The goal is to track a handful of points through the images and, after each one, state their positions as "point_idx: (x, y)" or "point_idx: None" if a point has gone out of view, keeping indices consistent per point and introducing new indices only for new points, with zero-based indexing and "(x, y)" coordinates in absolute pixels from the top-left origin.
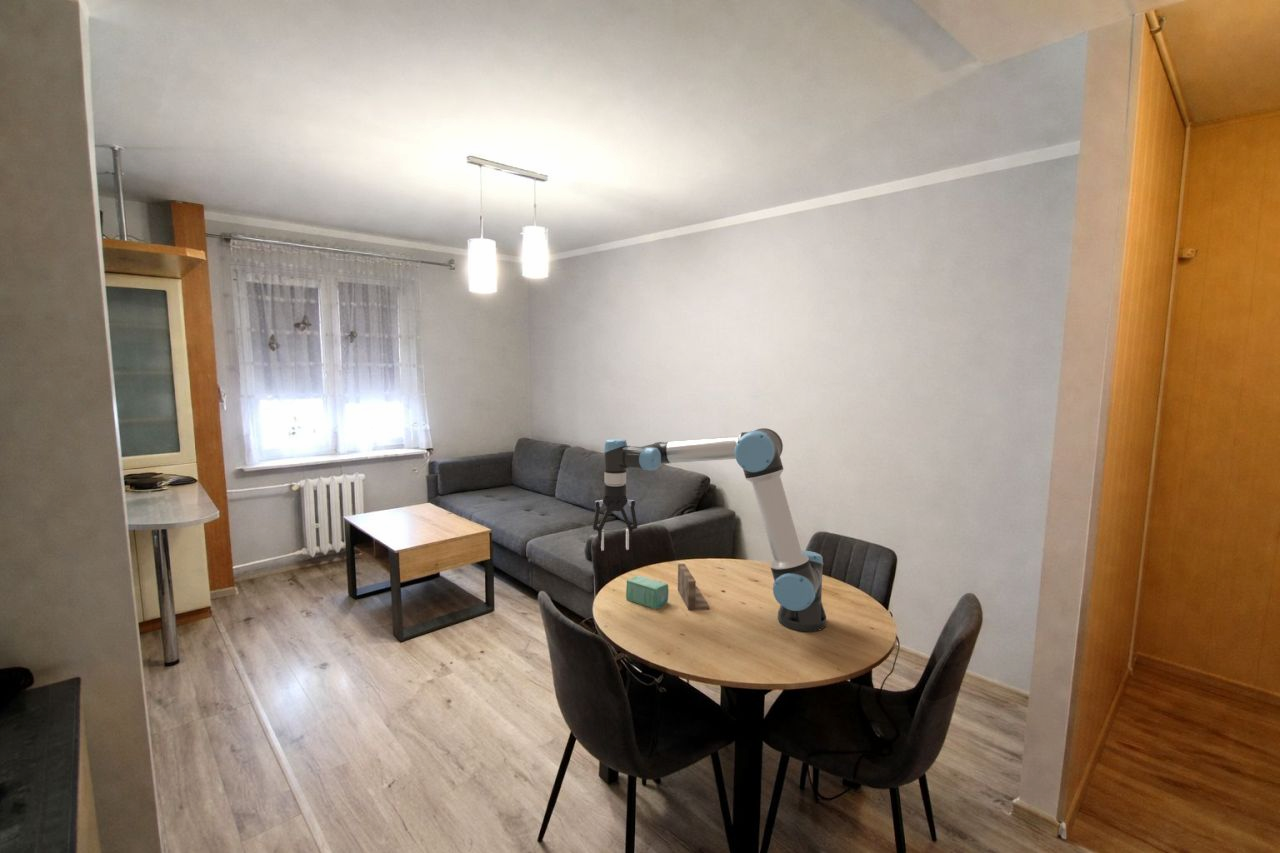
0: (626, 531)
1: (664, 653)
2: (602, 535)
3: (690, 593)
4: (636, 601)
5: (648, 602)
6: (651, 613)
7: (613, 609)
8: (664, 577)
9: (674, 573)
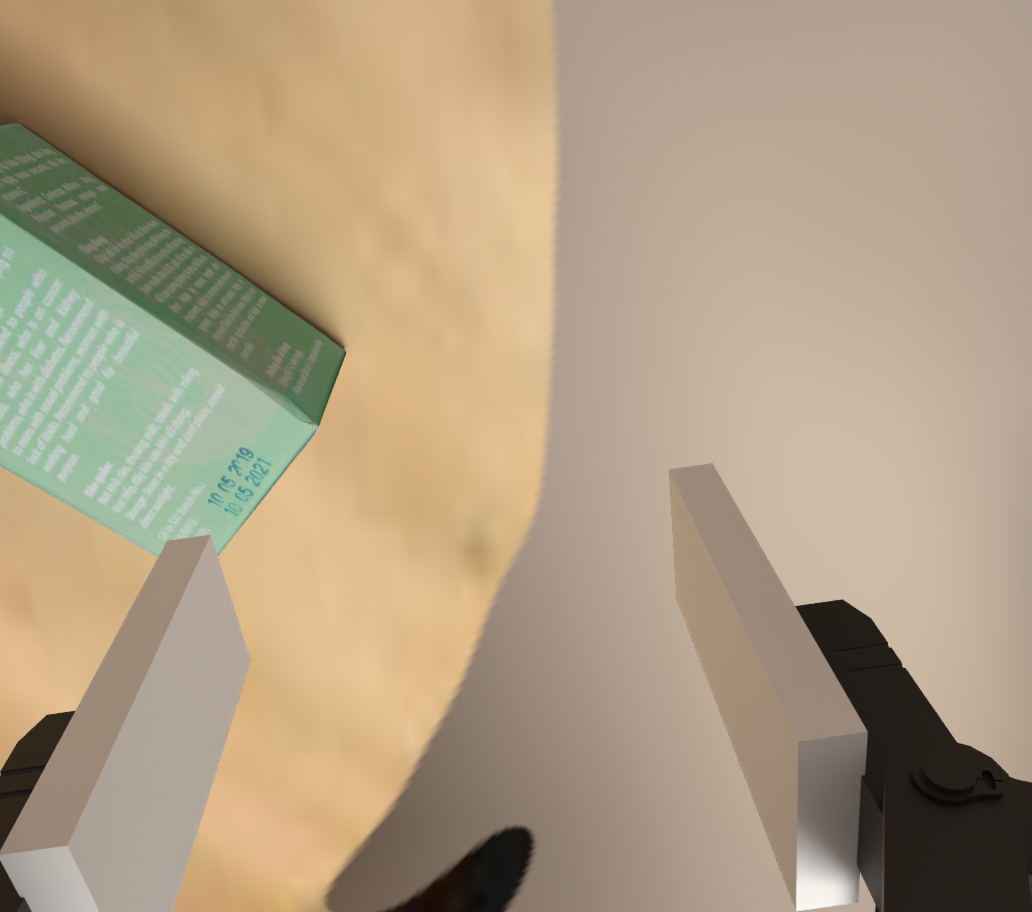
0: (107, 881)
1: None
2: (803, 661)
3: None
4: (233, 274)
5: (84, 184)
6: (43, 17)
7: (452, 117)
8: None
9: None
